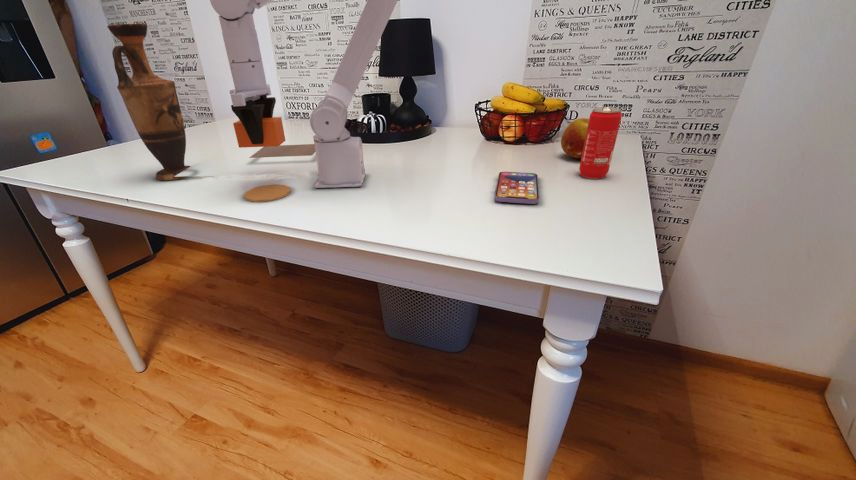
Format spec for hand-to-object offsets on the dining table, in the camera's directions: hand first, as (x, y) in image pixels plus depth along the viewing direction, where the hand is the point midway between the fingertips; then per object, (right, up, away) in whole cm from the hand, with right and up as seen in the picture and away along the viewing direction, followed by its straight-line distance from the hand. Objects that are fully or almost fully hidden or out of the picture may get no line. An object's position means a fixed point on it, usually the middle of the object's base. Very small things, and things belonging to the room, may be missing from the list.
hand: (262, 140), depth 78 cm
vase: (-25, -3, +16) cm, 30 cm away
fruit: (+68, 0, +11) cm, 69 cm away
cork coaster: (+1, -10, +1) cm, 10 cm away
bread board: (-1, +5, +26) cm, 26 cm away
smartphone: (+49, -11, -5) cm, 50 cm away
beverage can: (+65, -7, 0) cm, 65 cm away
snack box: (0, -1, 0) cm, 1 cm away
